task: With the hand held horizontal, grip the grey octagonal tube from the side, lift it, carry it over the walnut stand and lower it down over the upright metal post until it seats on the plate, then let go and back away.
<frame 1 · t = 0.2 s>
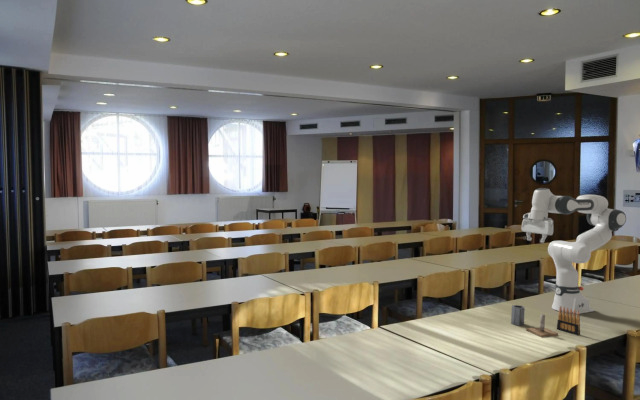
hand: (535, 241, 275), 40 cm above the table, tool pointing down, fingers open, 8 cm apart
ammunition clip: (568, 332, 244), on the table
grey octagonal tube: (517, 323, 256), on the table
stand: (541, 332, 242), on the table
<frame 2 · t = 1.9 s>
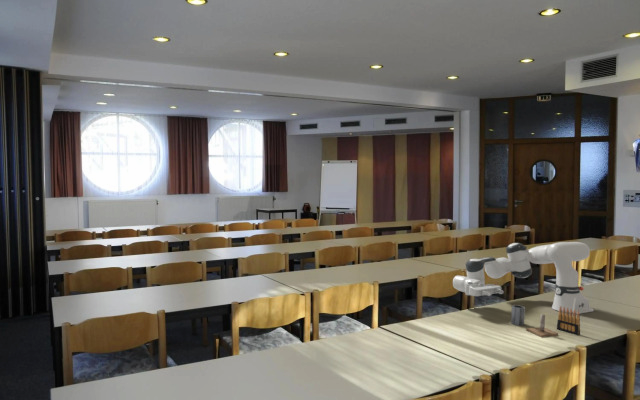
hand: (496, 293, 267), 13 cm above the table, tool horizontal, fingers open, 8 cm apart
nothing on the table moved.
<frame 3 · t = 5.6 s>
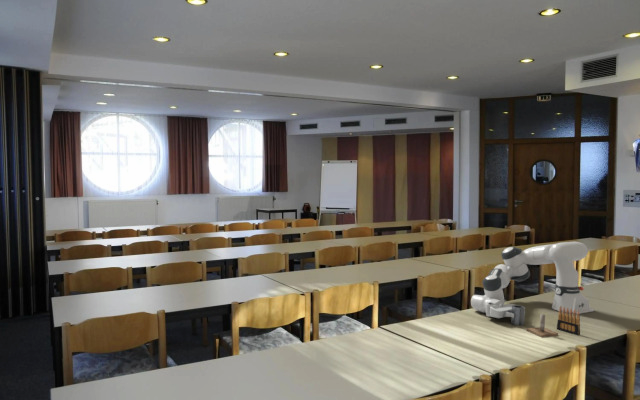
hand: (519, 314, 255), 5 cm above the table, tool horizontal, fingers closed on grey octagonal tube, 6 cm apart
grey octagonal tube: (517, 323, 256), on the table, touching gripper
everything else where it was.
when the fingers open (7 cm above the table, at t = 12.0 s): grey octagonal tube drops 1 cm, resting on stand.
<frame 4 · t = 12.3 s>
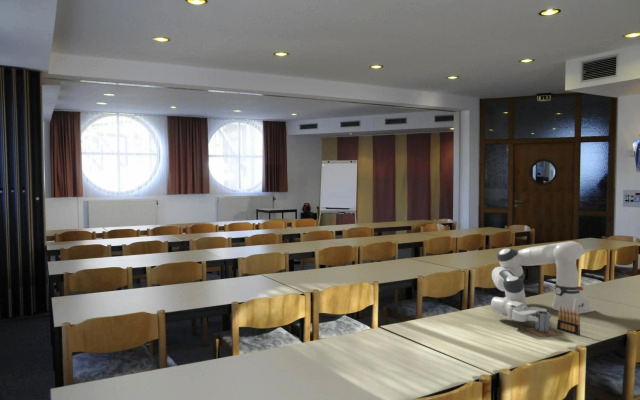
hand: (544, 318, 241), 7 cm above the table, tool horizontal, fingers open, 8 cm apart
grey octagonal tube: (541, 330, 242), point 1 cm above the table, touching stand
everything else where it was.
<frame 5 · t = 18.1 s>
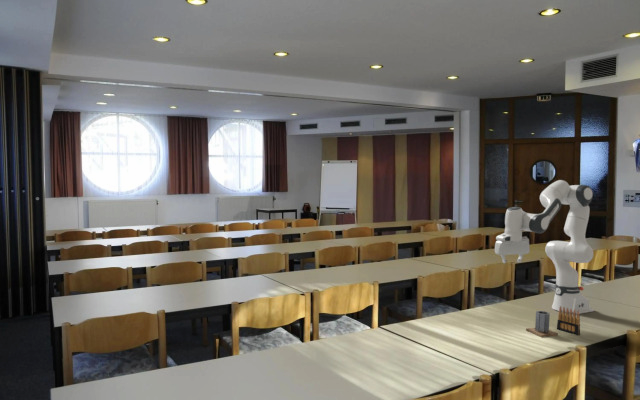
hand: (511, 262, 269), 29 cm above the table, tool pointing down, fingers open, 8 cm apart
nothing on the table moved.
at the end: grey octagonal tube 0.0 cm off-centre on the stand, point 1.0 cm above the stand's base; grey octagonal tube tilted 0°; the gripper is holding nothing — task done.
